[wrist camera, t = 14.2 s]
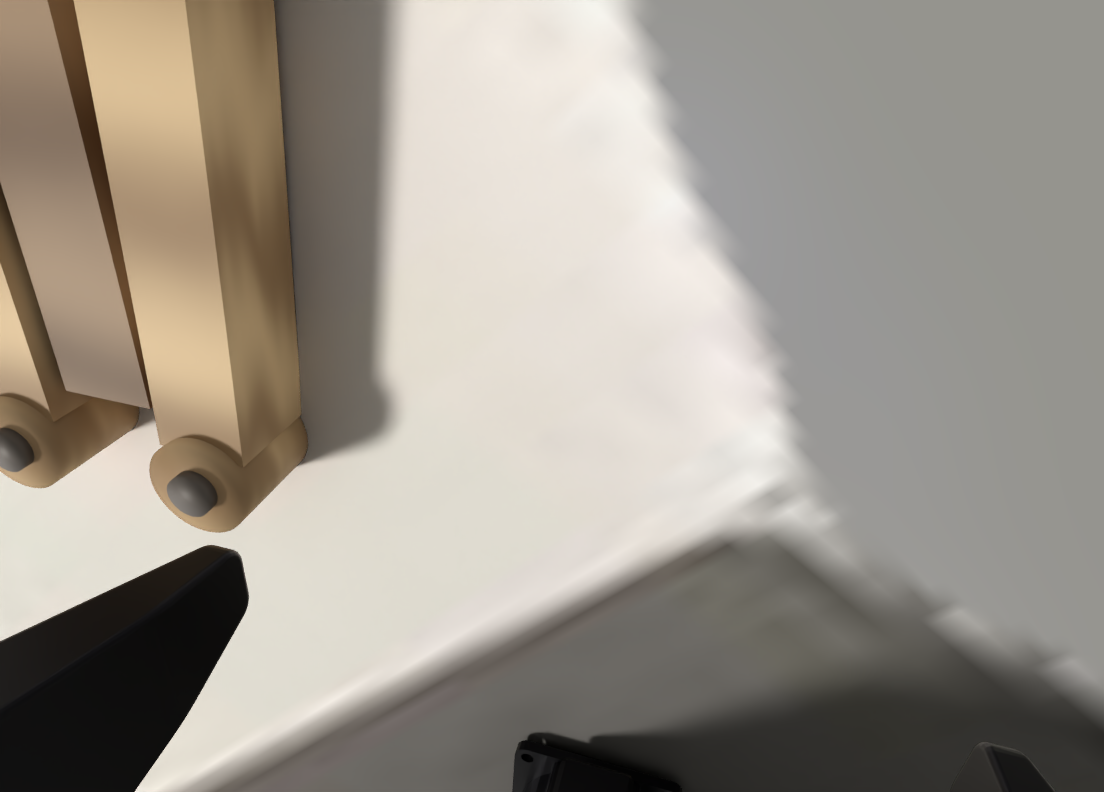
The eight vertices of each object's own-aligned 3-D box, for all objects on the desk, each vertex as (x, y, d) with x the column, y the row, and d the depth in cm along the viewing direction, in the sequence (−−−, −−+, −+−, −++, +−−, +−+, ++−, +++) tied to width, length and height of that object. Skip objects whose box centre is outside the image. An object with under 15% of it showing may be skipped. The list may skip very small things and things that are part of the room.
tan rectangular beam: (350, 483, 25) (285, 561, 22) (77, 421, 27) (-22, 483, 24) (275, -332, 15) (127, -427, 11) (-159, -331, 17) (-395, -411, 13)
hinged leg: (311, 477, 25) (241, 552, 22) (230, 454, 26) (149, 524, 22) (270, -164, 16) (137, -205, 13) (144, -180, 17) (-14, -222, 13)
